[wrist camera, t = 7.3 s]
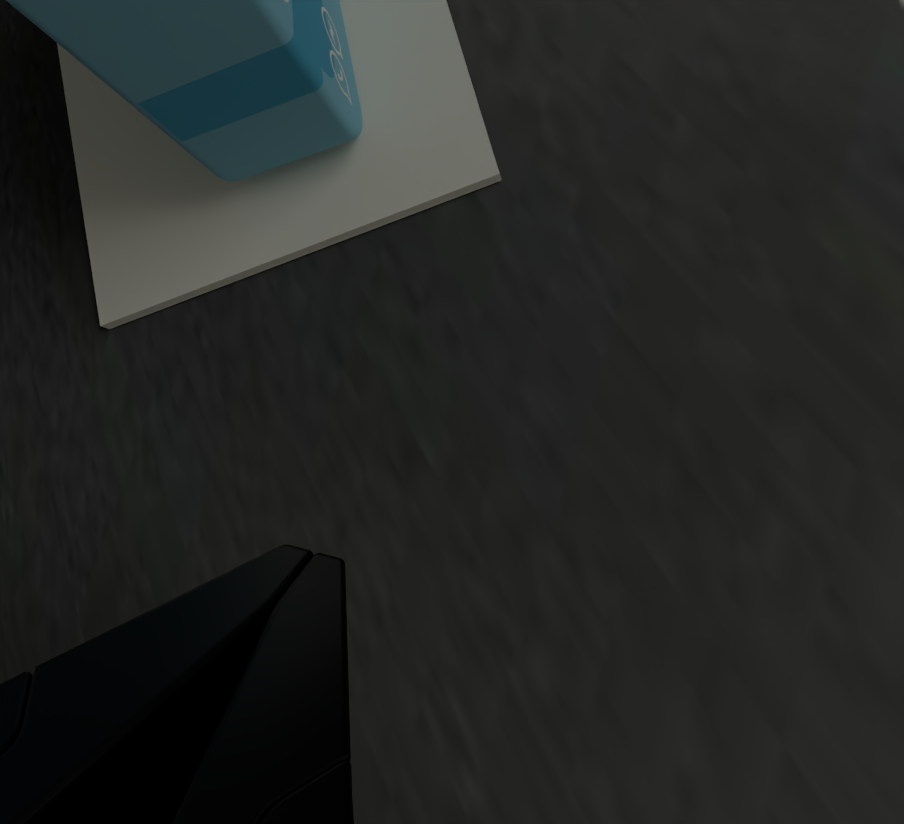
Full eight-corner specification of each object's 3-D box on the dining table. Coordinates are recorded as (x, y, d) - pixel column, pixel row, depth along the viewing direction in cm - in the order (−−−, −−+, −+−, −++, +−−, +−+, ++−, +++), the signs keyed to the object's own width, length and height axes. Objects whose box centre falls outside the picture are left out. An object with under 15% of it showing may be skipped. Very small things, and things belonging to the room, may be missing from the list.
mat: (501, 180, 18) (499, 173, 18) (109, 329, 21) (100, 326, 21) (378, -222, 22) (374, -235, 21) (50, -48, 24) (41, -56, 24)
